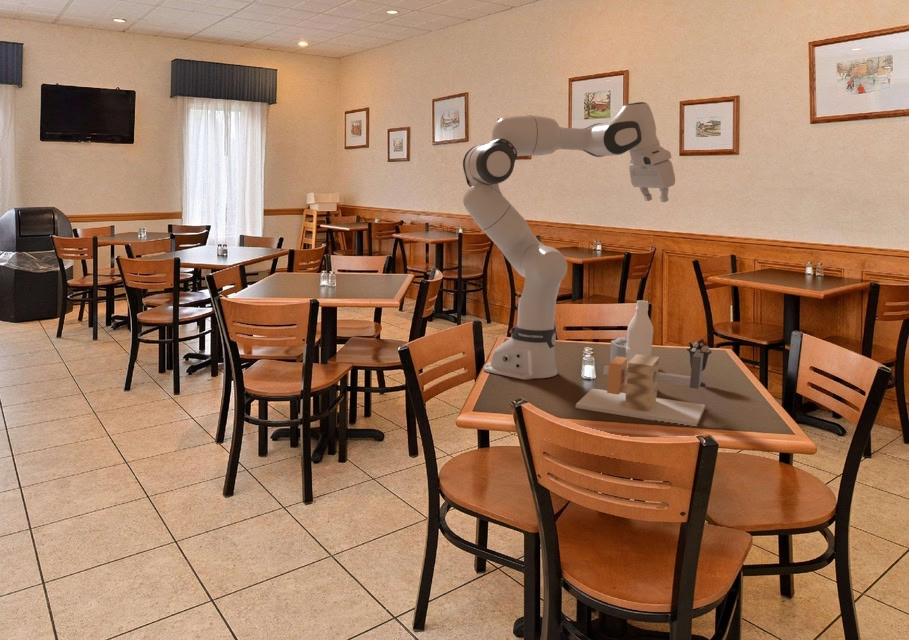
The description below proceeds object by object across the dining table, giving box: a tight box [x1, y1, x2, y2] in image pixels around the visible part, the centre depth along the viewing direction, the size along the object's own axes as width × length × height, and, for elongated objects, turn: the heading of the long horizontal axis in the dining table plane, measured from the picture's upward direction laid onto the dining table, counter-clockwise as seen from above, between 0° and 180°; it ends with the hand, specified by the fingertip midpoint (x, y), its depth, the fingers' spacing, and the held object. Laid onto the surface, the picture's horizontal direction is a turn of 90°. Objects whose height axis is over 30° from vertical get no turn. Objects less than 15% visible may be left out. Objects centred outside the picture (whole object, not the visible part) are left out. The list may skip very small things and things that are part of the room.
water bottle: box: [626, 299, 654, 385], centre depth 201 cm, size 7×7×25 cm
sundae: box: [686, 334, 712, 387], centre depth 206 cm, size 7×7×15 cm
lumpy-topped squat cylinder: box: [609, 336, 627, 363], centre depth 226 cm, size 10×13×9 cm
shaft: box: [602, 352, 704, 390], centre depth 181 cm, size 24×5×8 cm, turn 64°
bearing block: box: [625, 354, 660, 412], centre depth 183 cm, size 6×10×12 cm, turn 154°
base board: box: [575, 388, 706, 427], centre depth 184 cm, size 30×16×1 cm, turn 64°
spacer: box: [607, 356, 628, 395], centre depth 186 cm, size 3×8×8 cm, turn 154°
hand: (656, 201), depth 215 cm, fingers open, 8 cm apart
